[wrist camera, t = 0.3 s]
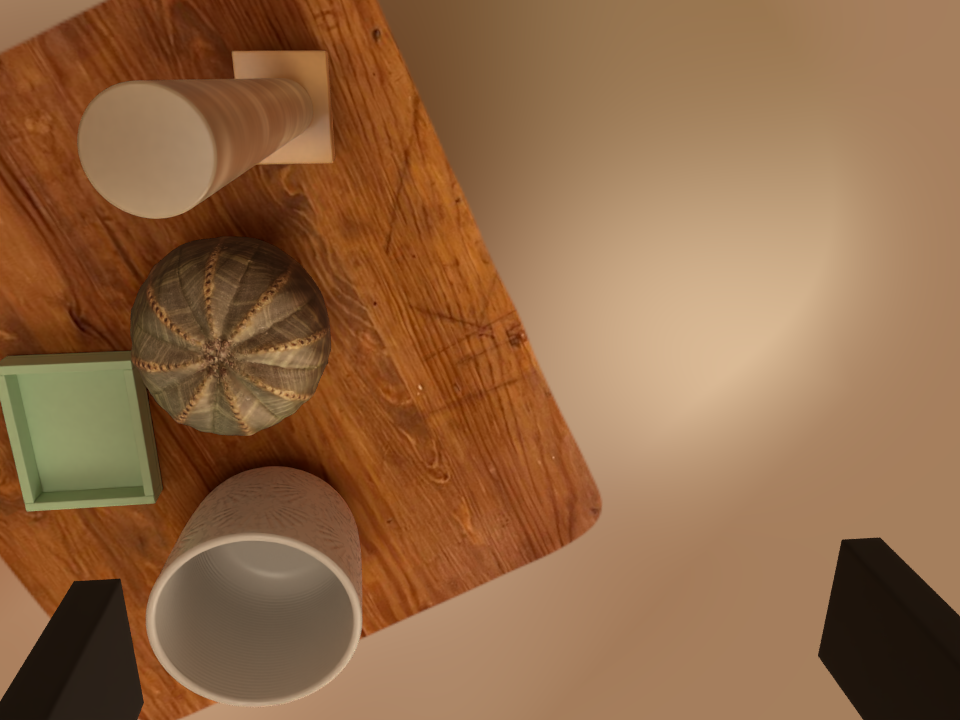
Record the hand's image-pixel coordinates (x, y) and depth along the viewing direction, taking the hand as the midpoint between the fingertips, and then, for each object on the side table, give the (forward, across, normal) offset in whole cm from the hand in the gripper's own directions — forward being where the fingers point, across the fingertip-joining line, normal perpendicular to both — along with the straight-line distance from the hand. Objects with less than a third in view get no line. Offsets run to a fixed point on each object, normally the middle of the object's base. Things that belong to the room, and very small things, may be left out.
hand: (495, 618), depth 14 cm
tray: (+38, -22, -13) cm, 46 cm away
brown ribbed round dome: (+38, -11, -5) cm, 40 cm away
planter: (+38, -11, -22) cm, 45 cm away
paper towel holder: (+38, -8, +7) cm, 40 cm away
